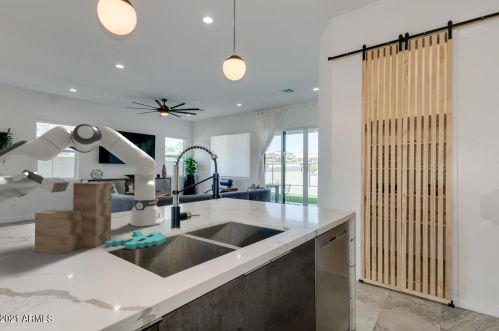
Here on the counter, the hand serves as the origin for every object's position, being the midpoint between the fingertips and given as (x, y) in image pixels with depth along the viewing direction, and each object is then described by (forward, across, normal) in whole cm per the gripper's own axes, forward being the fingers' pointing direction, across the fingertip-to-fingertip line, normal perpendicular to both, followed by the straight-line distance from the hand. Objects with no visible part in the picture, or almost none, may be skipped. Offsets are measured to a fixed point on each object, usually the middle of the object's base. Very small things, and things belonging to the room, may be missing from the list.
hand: (31, 173), depth 104 cm
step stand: (-2, +6, +33) cm, 34 cm away
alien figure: (+18, +16, +45) cm, 51 cm away
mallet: (+2, 0, +6) cm, 6 cm away
